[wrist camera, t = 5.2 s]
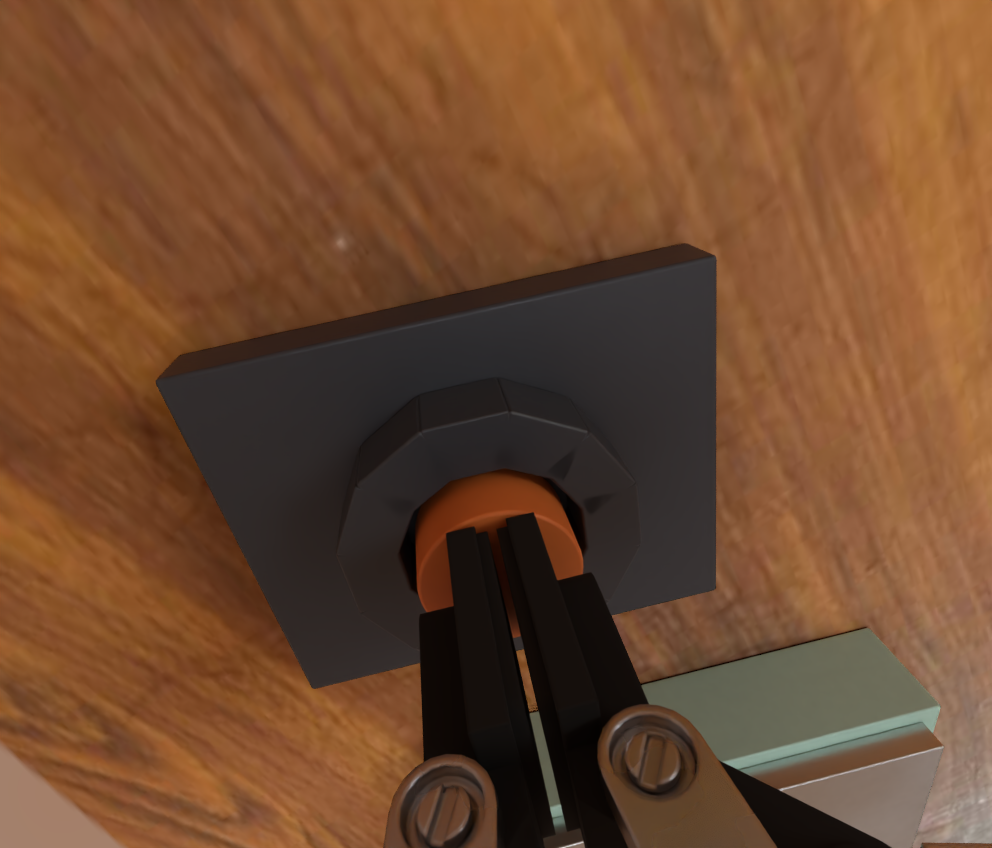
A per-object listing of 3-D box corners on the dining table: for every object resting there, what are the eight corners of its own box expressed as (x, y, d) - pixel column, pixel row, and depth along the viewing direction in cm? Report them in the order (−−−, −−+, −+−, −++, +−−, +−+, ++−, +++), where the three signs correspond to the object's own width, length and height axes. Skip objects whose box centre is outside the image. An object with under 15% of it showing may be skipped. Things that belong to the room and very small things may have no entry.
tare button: (434, 595, 13) (438, 658, 12) (398, 481, 12) (397, 536, 10) (570, 562, 13) (592, 620, 12) (551, 445, 12) (574, 493, 10)
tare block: (318, 648, 16) (302, 749, 14) (177, 354, 12) (114, 420, 9) (693, 556, 17) (748, 637, 14) (687, 242, 12) (763, 273, 10)
